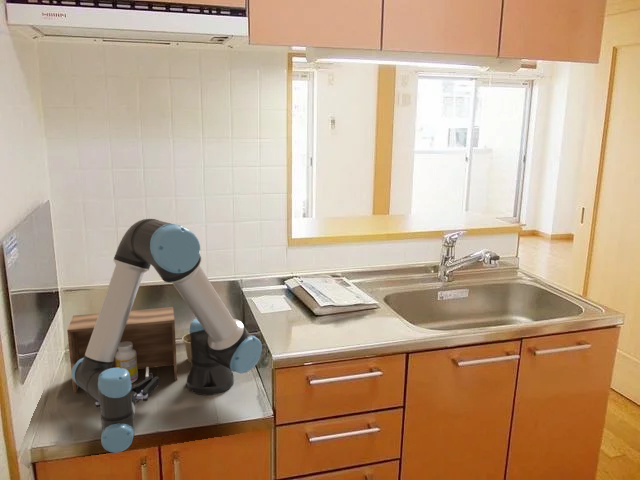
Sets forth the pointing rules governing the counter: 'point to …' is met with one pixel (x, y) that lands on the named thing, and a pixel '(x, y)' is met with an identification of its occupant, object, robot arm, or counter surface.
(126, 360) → the supplement bottle
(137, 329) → the cubby
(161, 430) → the counter surface
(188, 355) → the flower pot
